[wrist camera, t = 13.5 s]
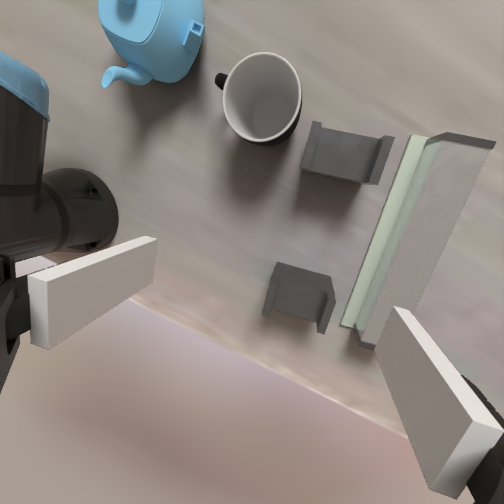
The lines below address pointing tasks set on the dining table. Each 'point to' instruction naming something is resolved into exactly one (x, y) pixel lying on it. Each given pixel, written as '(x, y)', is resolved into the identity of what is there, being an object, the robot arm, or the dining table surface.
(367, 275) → the mat
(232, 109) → the mug
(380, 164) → the post
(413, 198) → the rail
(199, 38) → the teapot
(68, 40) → the dining table surface
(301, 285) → the post
